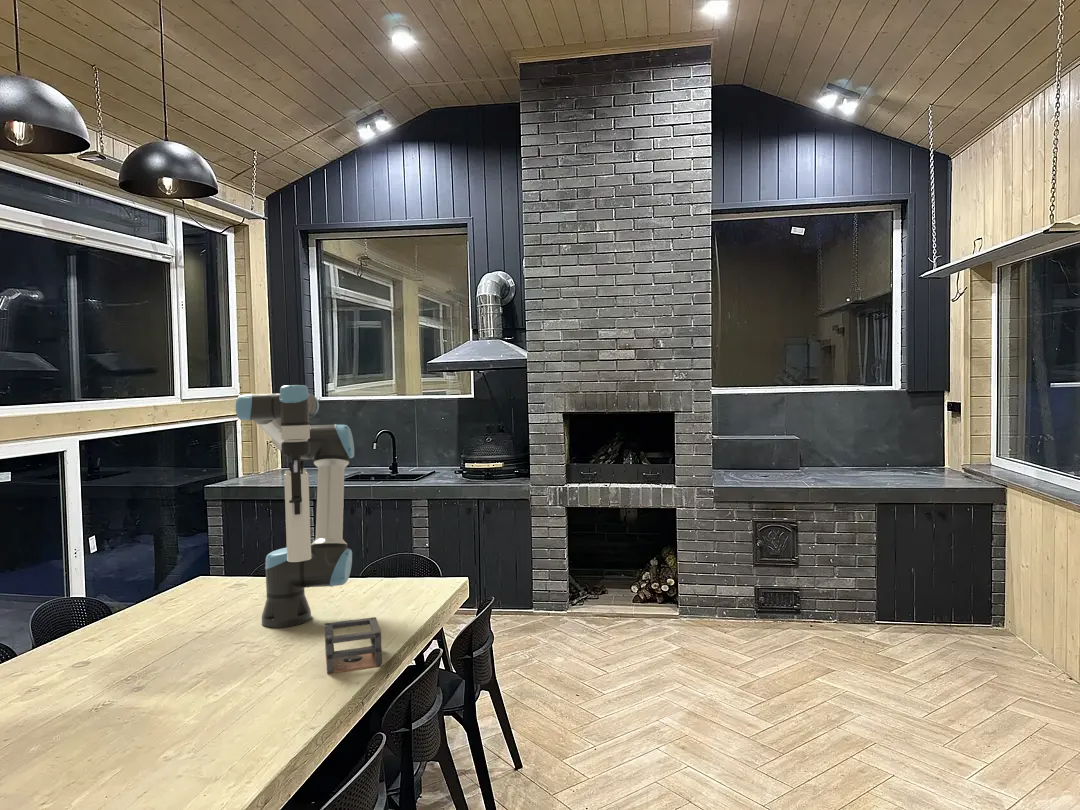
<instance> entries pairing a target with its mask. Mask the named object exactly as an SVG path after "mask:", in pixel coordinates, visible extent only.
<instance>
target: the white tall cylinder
mask: <svg viewBox="0 0 1080 810" xmlns="http://www.w3.org/2000/svg"><path fill="white" fill-rule="evenodd" d="M283 477H284V502H285V503H284V506H285V507H284V508H285V534H286V535H285V536H286V538H285V539H286V542H285V543H286V547H287V561H289V562H302V561H307V560H310V559H311V558H312V557H311V544H312V543H311V540H312V539H311V515H310V514H311V513H310V512H311V511H310V508H311V507H310V483H309V481H310V480H309V472H308V471H307V468H305V469H304V468H303V474H301V494H302V507H303V526H295V527H293V523H292V503H289V500H291V498H292V488H291V471H290V469H287V470H284V476H283Z"/></svg>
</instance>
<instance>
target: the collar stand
mask: <svg viewBox="0 0 1080 810" xmlns="http://www.w3.org/2000/svg"><path fill="white" fill-rule="evenodd" d="M368 625H369V627H370V630H369V631H364V632H358V633H357V632H356V633H349V634H341V635H340V634H339V635H334V630H337V629H343V628H352V627H358V626H368ZM362 640H369V641H370V645H371V646H370V645H369V646H365V647H356V648H348V649H342V650H340V649H339V650H335V648H334V647H335V645H334V644H339V643H347V642H354V641H362ZM324 644H325V645H324V646H325V648H324V649H325V661H326V662H325V663H326V673H327V675H329V674H330V675H331V674H337V673H344V672H352V671H357V670H363V669H364V670H365V669H371V668H377V667H379V668H380V667H383V656H382V655H383V653H382V631H381V628H380V626H379V622H378V620H377V617H376V616H374V617H368V618H365V617H364V618H358V619H350V620H343V621H342V620H340V621H336V622H335V621H334V622H327V623H326V622H325V623H324Z"/></svg>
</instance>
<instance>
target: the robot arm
mask: <svg viewBox="0 0 1080 810" xmlns="http://www.w3.org/2000/svg"><path fill="white" fill-rule="evenodd" d="M319 408H320V403H319V400H318V398H317V397H316V396H315V395H314V394H312V393H310V392H309V387H308V386H307V385H305V384H303V385H301V384H292V385H291V384H290V385H289V384H288V385H282V386H281V387H280V389H279V393H247V394H241V395H240V394H239V396H237V399H236V401H235V414H236V416H237V418H238V420H240V421H247V422H250V421H253V422H254V423H256V424H257V425H258V426H259V428H261V430H263V432H264V433H266V434H267V435H268V436H269V437H270V438H271V440H272V443H273V445H274V447H276V449H278V450H279V451H280V452H281V455H282V456H283V457H284V456H285V457H289V456H291V461H289V462H288V470H290V471H291V488H292V498H291V500H289V503H292V523H293V527H295V526H303V507H302V494H301V474H303V469H304V467H305V461H304V460H313V465H315V467H317V490H316V492H317V493H316V496H317V497H316V514H315V515H316V518H315V519H316V521H315V522H316V523H315V539H314V541H313V542H312V543H311V557H312V558H311V559H310V560H307V561H302V562H289V561H287V546H286V547H282V548H279V549H276V550H273V551H271V552H270V553H268V554H267V555H266V557H265V567H264V570H265V587H266V600H265V604H264V607H263V611H262V614H261V625H263V626H264V627H267V628H274V629H275V628H287V627H294V626H298V625H301V624H304V623H306V622H308V621H310V620H311V618H312V611H311V607H310V605H309V603H308V602H309V601H308V600H307V599H308V598H307V597H306V594H305V588H319V587H324V588H325V587H331V588H333V587H336V586H343V585H346V583H347V582H348V580H349V578H350V574H351V570H352V566H353V565H352V564H353V550H352V549H351V548H349V547H348V543H347V542H346V541H345V540H344V539H343V537H344V536H343V532H344V499H345V498H344V495H345V469H346V467H347V466H348V465H349V464H350V459H352V458H354V457H355V444H354V439H353V438H354V437H353V434H352V430H351V428H350V427H349V426H348V425H347V424H337V423H334V424H316V425H314V424H313V425H312V424H311V425H310V418H312V417H314V416H316V414H317V413H318V411H319Z"/></svg>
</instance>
